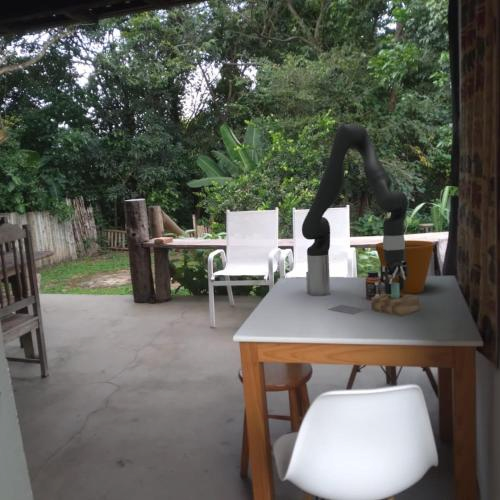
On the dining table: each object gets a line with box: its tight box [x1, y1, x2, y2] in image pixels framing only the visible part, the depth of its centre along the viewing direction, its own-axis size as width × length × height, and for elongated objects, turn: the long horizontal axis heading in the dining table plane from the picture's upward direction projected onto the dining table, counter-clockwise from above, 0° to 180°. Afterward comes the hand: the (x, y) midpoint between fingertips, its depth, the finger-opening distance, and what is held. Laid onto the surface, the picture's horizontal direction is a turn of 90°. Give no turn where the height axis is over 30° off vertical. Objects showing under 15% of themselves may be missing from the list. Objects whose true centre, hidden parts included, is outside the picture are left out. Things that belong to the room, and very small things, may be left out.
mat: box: [327, 304, 368, 315], centre depth 181 cm, size 12×9×1 cm
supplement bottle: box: [365, 270, 382, 301], centre depth 195 cm, size 6×6×11 cm
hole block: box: [370, 293, 420, 317], centre depth 176 cm, size 12×12×5 cm
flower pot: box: [375, 239, 435, 294], centre depth 208 cm, size 24×24×20 cm
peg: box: [391, 283, 400, 299], centre depth 176 cm, size 3×3×10 cm
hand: (394, 291), depth 176 cm, fingers open, 8 cm apart
